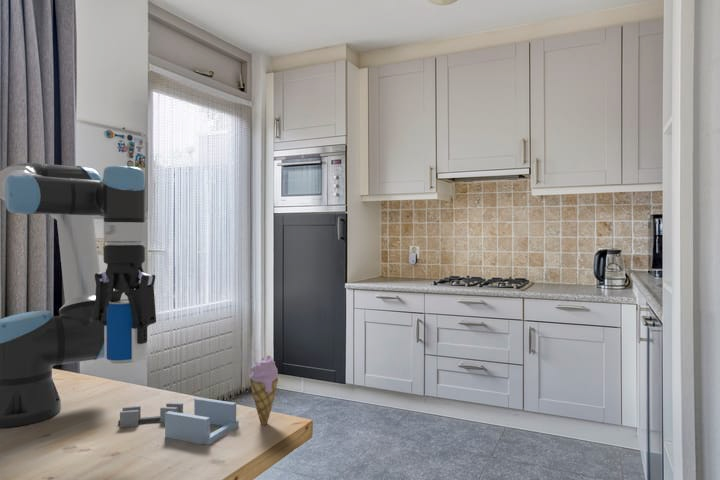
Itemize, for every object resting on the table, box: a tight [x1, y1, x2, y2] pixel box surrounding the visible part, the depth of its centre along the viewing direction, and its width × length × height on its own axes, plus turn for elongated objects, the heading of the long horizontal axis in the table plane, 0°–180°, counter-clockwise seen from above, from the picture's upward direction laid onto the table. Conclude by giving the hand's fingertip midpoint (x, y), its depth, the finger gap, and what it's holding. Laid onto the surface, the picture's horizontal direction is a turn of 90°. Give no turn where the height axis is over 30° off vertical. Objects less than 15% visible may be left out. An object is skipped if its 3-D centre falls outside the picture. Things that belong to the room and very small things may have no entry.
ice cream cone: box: [248, 354, 279, 426], centre depth 108 cm, size 7×6×15 cm
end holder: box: [164, 397, 240, 446], centre depth 104 cm, size 11×10×5 cm
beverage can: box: [106, 298, 142, 365], centre depth 99 cm, size 6×6×12 cm
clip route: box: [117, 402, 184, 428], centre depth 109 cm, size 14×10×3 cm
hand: (124, 357), depth 99 cm, fingers closed on beverage can, 6 cm apart
